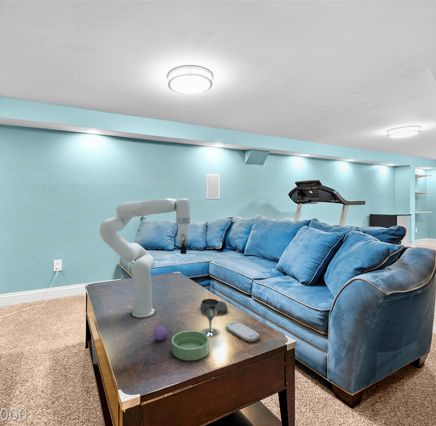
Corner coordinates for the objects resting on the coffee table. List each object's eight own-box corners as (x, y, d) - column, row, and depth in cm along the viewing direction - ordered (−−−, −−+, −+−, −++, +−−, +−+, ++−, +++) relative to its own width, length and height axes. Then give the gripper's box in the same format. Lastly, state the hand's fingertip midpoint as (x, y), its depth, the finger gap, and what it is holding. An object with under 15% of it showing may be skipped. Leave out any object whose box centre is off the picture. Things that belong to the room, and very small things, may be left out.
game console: (223, 323, 134) (235, 319, 138) (223, 328, 134) (235, 324, 138) (249, 339, 118) (262, 334, 123) (249, 344, 118) (262, 339, 123)
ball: (152, 343, 121) (152, 330, 120) (155, 336, 127) (154, 323, 126) (166, 343, 120) (166, 330, 120) (167, 336, 126) (167, 323, 126)
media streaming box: (228, 314, 150) (228, 309, 150) (202, 315, 149) (202, 310, 149) (223, 304, 164) (223, 299, 164) (199, 305, 163) (199, 300, 163)
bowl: (170, 361, 106) (169, 349, 106) (173, 341, 122) (173, 330, 122) (209, 362, 106) (209, 349, 106) (208, 341, 122) (208, 330, 121)
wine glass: (213, 338, 124) (213, 306, 124) (199, 333, 128) (198, 302, 128) (221, 331, 131) (221, 300, 130) (207, 327, 135) (206, 297, 135)
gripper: (177, 220, 156) (177, 249, 157) (175, 222, 139) (176, 255, 140) (190, 219, 156) (190, 249, 157) (190, 222, 139) (190, 255, 140)
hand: (183, 252), depth 148 cm, fingers open, 9 cm apart
